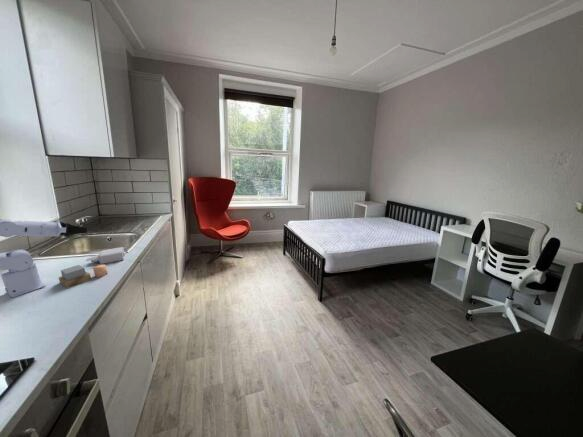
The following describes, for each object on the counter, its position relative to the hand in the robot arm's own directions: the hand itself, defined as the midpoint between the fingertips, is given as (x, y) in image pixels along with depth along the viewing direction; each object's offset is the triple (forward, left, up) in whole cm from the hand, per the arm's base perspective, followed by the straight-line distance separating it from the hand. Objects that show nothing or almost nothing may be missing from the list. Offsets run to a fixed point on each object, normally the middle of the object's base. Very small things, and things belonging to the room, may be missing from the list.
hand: (84, 229), depth 108 cm
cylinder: (-1, -10, -19) cm, 22 cm away
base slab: (-9, -7, -20) cm, 23 cm away
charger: (+7, +6, -20) cm, 22 cm away
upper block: (-9, -7, -17) cm, 20 cm away
